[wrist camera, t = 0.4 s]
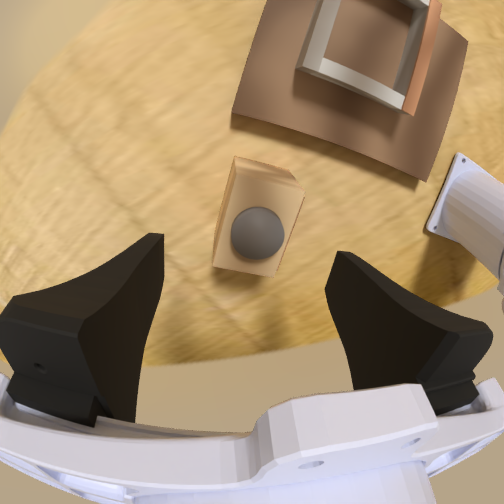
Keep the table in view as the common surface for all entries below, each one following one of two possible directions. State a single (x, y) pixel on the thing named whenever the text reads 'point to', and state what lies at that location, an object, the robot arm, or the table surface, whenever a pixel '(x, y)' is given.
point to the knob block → (256, 217)
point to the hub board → (357, 75)
